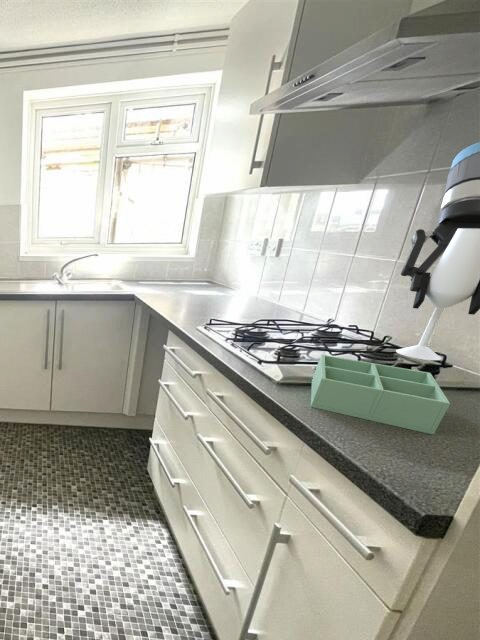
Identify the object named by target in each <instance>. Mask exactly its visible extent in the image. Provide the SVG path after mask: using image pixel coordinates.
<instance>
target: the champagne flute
mask: <svg viewBox="0 0 480 640" xmlns="http://www.w3.org/2000/svg"><path fill="white" fill-rule="evenodd" d="M479 280H480V229H472V228H458V229H457V231H456V233H455V235H454V236H453V238H452V240H451V241H450V243H449V245H448V247H447V248H446V250H445V252H444V253H443V254H442V255H441V256H440V259H439V260H438V262H437V264H436V266H435V267H434V269H433V270H432V272H431V274H430V278H429V282H428V286H427V291H426V295H425V299H427V300H428V301H429V303H430V305H432V306H433V307H435V308H434V310H433V312H432V314H431V317H430V318H429V321H428V323H427V324H426V327H425V329H424V332H423V334H422V335H421V338H420V340H419V342H418V344H415V345H411V346H407V347H403V348H398V349H395V352H396V353H397V354H399V355H403V356H406V357H409V358H413V359H417V360H418V359H419V360H426V361H441V360H442V357H441V356H440V355H438V354H437V353H436V352H434V350H432V349H431V348H430V347H428V344H429V341H431V337H432V335H433V333H434V332H435V329H436V327H437V325H438V322H439V320H440V319H441V317H442V315H443V312H444V311H445V309H446V308H451V307H453V306H456V305H458V304H460V303H463V302H464V301H466V300H468V299H470V298H472V295H473V294H474V293H475V291H476V288H477V285H478V282H479Z"/></svg>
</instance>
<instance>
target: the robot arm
mask: <svg viewBox="0 0 480 640" xmlns="http://www.w3.org/2000/svg"><path fill="white" fill-rule="evenodd" d="M446 179H447V180H446V185H445V189H444V193H443V197H442V201H441V206H440V210H439V215H438V218H437V221H436V226H435V228H434V229H433V230H429V231H425V230H424V229H421V228H420V229H417V230H416V231H415V233H414V234H413V236H412V237H411V241H410V242H411V246H412V247H411V249H410V251H409V253H408V255H407V258H406V260H405V262H404V265H403V267H402V269H401V272H400V276H401V277H410V281H411V283H410V287H409V291H410V292H415V297H414V300H413V304H412V309H416V310H417V309H420V307H421V306H422V304H423V303H424V302H425V299H426V296H425V295H426V291H427V286H428V282H429V278H430V276H431V274H432V272H428V270H429V269H431V267H432V266H433V265H434V264H435V263H436V262H437V260H438V259H439V258H441V257H442V255H443V253H444V252H445V250H446V248H447V247H448V245H449V243H450V241H451V240H452V238H453V236H454V235H455V233H456V231H457V229H458V228H472V229H480V141H479V142H475V143H474V144H471V145H469V146H467V147H465V148H464V149H462V150H461V151H460V152H459V153H457V154H456V156H455V158H453V160H452V163H451V166H450V169H449V172H448V175H447V178H446ZM430 239H431V240H432V241H433V242H434V243H435V244H436V245H437V247H436V248H434V250H433V251H432V252H431V253H430V254H429V256H428V257H427V258H426V259H425V260H424V261H423V262H422V263H421V264H420V266H418V267H417V266H415V265H416V263H417V260H418V258H419V255H420V253H421V251H422V249H423V246H424V244H425V243H427V242H428V241H429V240H430ZM470 298H471V299H470V304H469V308H468V312H467V314H468V315H472V316H473V315H476V314H477V313H478V311H479V310H480V280H479V282H478V285H477V288H476V291H475V293H474V294H473V295H472V296H471V297H470Z"/></svg>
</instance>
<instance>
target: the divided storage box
mask: <svg viewBox="0 0 480 640" xmlns="http://www.w3.org/2000/svg"><path fill="white" fill-rule="evenodd" d="M312 378H313V379H312ZM312 378H311V388H310V389H311V391H310V408H313V409H318V410H322V411H327V412H332V413H336V414H341V415H345V416H349V417H354V418H357V419H362V420H367V421H371V422H375V423H381V424H384V425H389V426H394V427H398V428H402V429H407V430H409V431H410V430H411V431H416V432H420V433H424V434H428V435H432V436H434V435H435V433H436V431H437V429H438V427H439V425H440V423H441V422H442V420H443V418H444V416H445V414H446V413H447V410H448V409H449V407H450V405H451V402H450V401H449V399H448V398H447V396H446V395H445V393H444V392H443V390H442V388H441V387H440V386H439V384H438V382H437V380H436V379H435V377H434V376H433V374H432V373H431V372H428V371H422V370H416V369H409V368H403V367H397V366H393V365H386V364H381V363H380V364H379V363H375V362H368V361H363V360H356V359H350V358H345V357H338V356H332V355H327V354H320V357H319V359H318V362H317V365H316V367H315V370H314V373H313V375H312Z"/></svg>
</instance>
